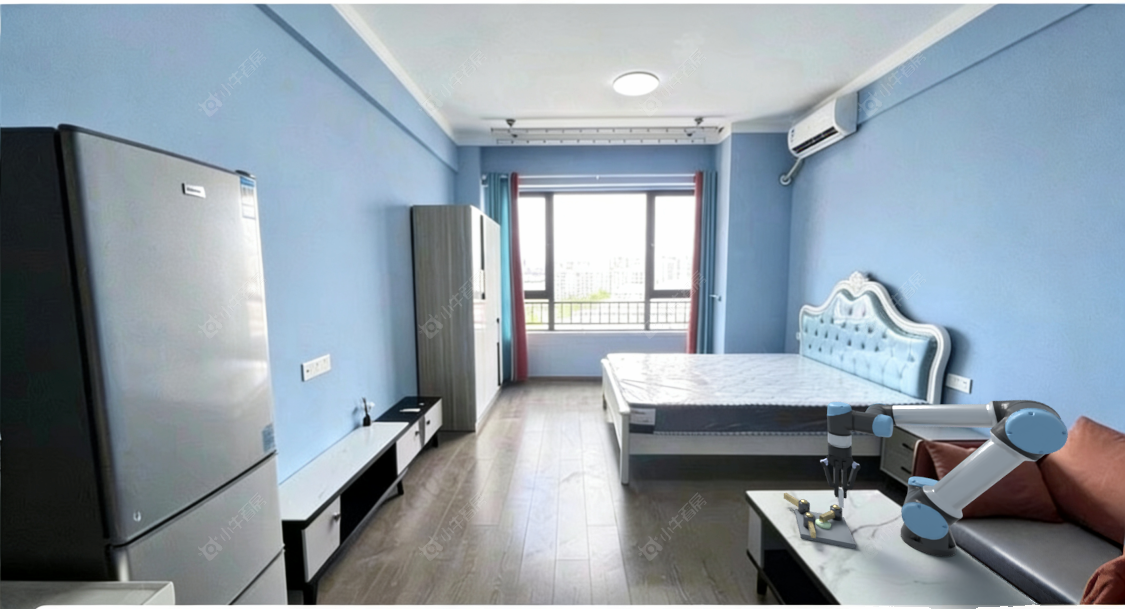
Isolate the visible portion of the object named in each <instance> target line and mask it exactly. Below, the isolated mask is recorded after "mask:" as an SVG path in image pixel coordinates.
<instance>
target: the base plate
mask: <svg viewBox="0 0 1125 609" xmlns="http://www.w3.org/2000/svg"><path fill="white" fill-rule="evenodd" d="M810 513H812V514H813V515H814V516H815V517H816V522H815V532H816V538H811V535H810V532H809V529H807V528H805V527H804V526H803V514H801V513H799V512H798V509H797V508H794V516H795V519H796V523H797V527H798V531H799V536H800V538H801V539H805V540H811V541H813V542H814V541H815V542H819V543H820V542H821V543H825V544H830V545H834V546H840V547H845V548H849V549H850V548H851V549H856V545H857V544H856V542H855V539H854V537H853V534H852V533H851V530H850V527H849V525H848V524H847V521H846V519H845V517H844V516H842V520H841V521H836V520H833V519H830V520H828V521H826V522H824V523H822V522H820V521H819V515H821V514H823V513H822V512H815V511H811V510H810Z"/></svg>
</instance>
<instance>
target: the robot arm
mask: <svg viewBox="0 0 1125 609" xmlns="http://www.w3.org/2000/svg"><path fill="white" fill-rule="evenodd" d="M826 409H827V414H826V418H827V419H826V421H827V422H826V423H827V442H828V443H827V455H826V456H825V457H826V458H824V459H821V458H820V459H819V462H820V465H821V466H822V467H823V470H824V473H825V476H826V480H827V484H828V486H829V487H830V488H833V494H834V497H835V498H837V501H836V502H837V505H838V506H839V507H841V508H842V509H844V508H845V502H844V499H847V497H848V496H847V495H848V494H847V493H848V490H849V491H851V490H853V488H854V485H855V482H856V478H857V474H858V471H860V470H861V468H862V467H861V465H860V463H858V462H856V461H854V459H853V455H852V454H853V451H852V450H853V449H852V448H853V447H852V445H853V444H852V443H853V441H852V438H853V436H852V432H855V433H860V434H865V435H871V436H876V437H879V438H882V437H883V438H891V437H892V436H893V432H894V427H931V428H932V427H934V428H936V427H937V428H938V427H941V428H951V427H952V428H980V429H982V428H983V429H985V428H986V429H988V428H989V429H990V430H989V434H990V438H988V439H987V440H986V441H985V442H984V443H983V444H982V445H980V446H979V447H978V448H977V449H976V450H974V451H973V452H972V453H971V454H969V455H968V456H967V457H966V458H965V459H963V460H962V461H961V462H960V463H959V464H957V465H956V466H955V467H954V468H953V469H952V470H951V471H949V472H948V473H947V474H946V475H944V476H943V477H942V478H940V480H936V479H933V478H928V477H924V476H911V477H909V478H908V482H907V494H906V496H905V500H904V502H903V505H902V507H901V511H900V513H901V514H900V516H901V519H902V521H903V524H902V526H901V528H900V538H901V539H902V541H903V542H905V543H906V544H907V545H908V546H910V547H912V548H913V549H915V550H918V551H920V552H923V553H925V554H928V555H932V556H936V557H947V558H948V557H953V556H954V555H956V553H957V543H956V541H955V538H954V535H953V532H952V530H951V526H953V525H954V524H955V523H957V522H958V521H959V520H961V519H962V518H963V517H964V516H963V511H962V510H963V509H964V508H966V506H968V505H969V504H971V503H972V502H973V501H974V500H975V499H977V498H979V497H980V496H981V495H982V494H983V493H985V492H986V491H988V490H989V489H990V488H991V487H992V486H994V485H995V484H996V483H998V482H999V481H1000V480H1002V478H1004V477H1006V475H1008V474H1009V473H1011V472H1012V471H1014V469H1016V468H1017V467H1018V466H1020V465H1021V464H1022V463H1023V462H1037V461H1038V460H1039V459H1041V458H1042V457H1043V456H1045V455H1048V454H1053V453H1055V452H1058V451H1060V450H1061V449H1062V448H1064V446H1065V445H1066V444H1067V441H1068V435H1069V432H1068V429H1067V426H1066V424H1065V423H1064V421H1063V420H1062V418H1061V416H1060V414H1059V413H1058V411H1056V410H1055V409H1054V408H1053V407H1051V406H1050V405H1047V404H1046V403H1044V402H1041V401H1036V400H1033V399H1011V400H1010V399H1009V400H1008V399H1007V400H990V401H989V402H988V403H971V404H969V403H968V404H966V403H964V404H961V403H959V404H957V403H956V404H955V403H954V404H953V403H952V404H885V403H881V402H875V403H873V404H871V405H869V406H868V408H867V409H866V411H865V412H864V411H858V410H854V409H852V406H851V405H850V403H846V402H842V401H832V402H829V403H827V408H826ZM829 464H830V466H831V467H833V480H832V478H831V474H830V470H829V468H828V465H829ZM850 467H852V468H851V471H850V474H849V477H848V475H847V474H848V469H849V468H850ZM840 470H841V471H840ZM840 472H841V487H840V484H839V483H840V482H839V481H840V480H839V479H840V477H839V476H840V474H839V473H840Z"/></svg>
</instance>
